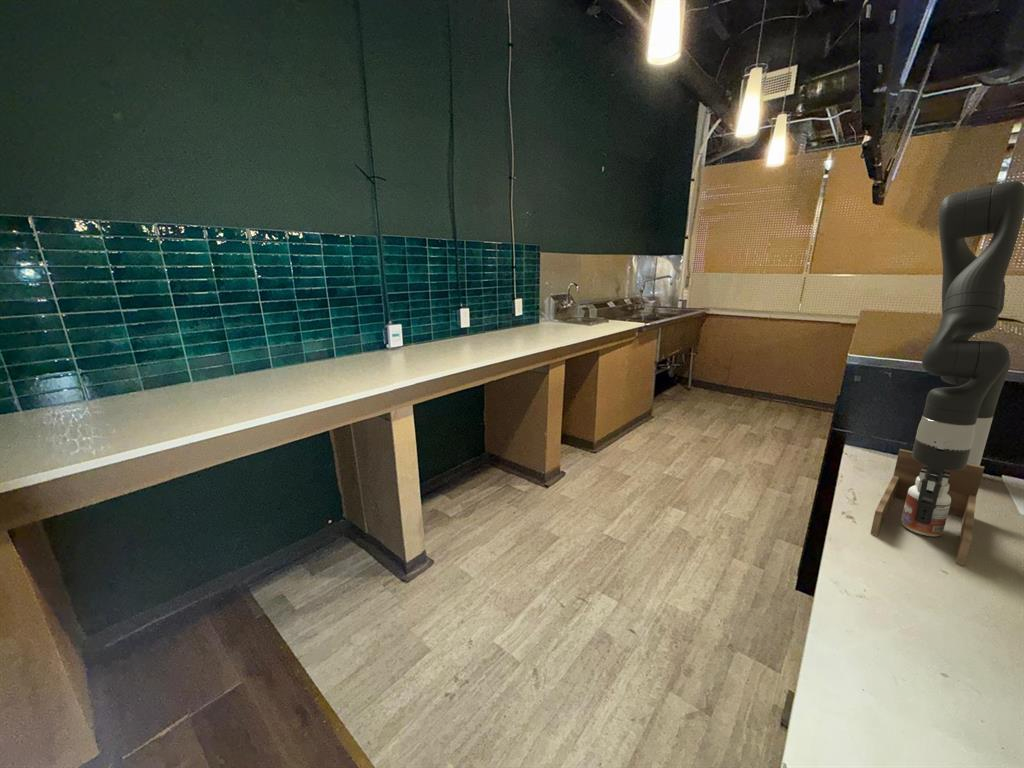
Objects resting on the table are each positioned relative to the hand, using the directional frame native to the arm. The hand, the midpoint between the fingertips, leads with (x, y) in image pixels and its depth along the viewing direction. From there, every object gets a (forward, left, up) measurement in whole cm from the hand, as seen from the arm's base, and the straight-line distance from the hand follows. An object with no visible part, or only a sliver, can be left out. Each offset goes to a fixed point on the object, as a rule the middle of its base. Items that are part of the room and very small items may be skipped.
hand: (924, 515), depth 82 cm
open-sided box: (-2, 0, -3) cm, 4 cm away
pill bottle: (0, 0, -3) cm, 3 cm away
